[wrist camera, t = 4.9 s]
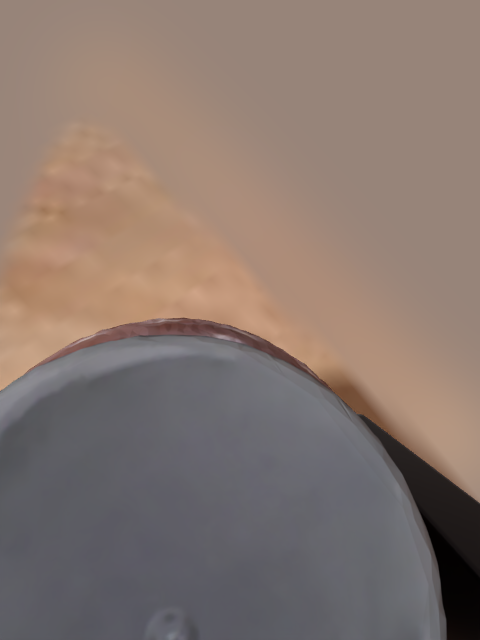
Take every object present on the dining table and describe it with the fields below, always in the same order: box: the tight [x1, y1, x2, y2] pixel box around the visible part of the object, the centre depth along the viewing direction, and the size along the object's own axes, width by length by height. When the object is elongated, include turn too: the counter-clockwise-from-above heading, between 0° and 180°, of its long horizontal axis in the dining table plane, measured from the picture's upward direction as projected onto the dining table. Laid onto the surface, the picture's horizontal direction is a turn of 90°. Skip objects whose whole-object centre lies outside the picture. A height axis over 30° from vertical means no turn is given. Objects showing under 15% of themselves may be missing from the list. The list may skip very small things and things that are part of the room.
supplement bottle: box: [0, 318, 447, 640], centre depth 8 cm, size 6×6×11 cm
